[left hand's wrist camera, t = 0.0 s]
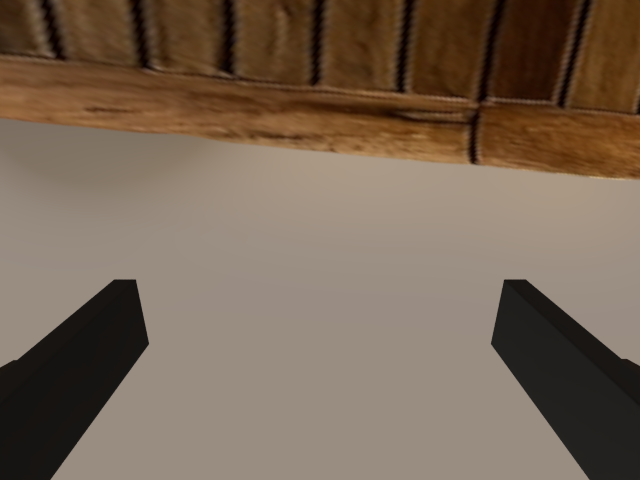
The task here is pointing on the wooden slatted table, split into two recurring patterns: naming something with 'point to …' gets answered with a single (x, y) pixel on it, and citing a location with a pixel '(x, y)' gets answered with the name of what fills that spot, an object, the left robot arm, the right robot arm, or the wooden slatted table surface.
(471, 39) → the wooden slatted table surface
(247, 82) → the wooden slatted table surface
